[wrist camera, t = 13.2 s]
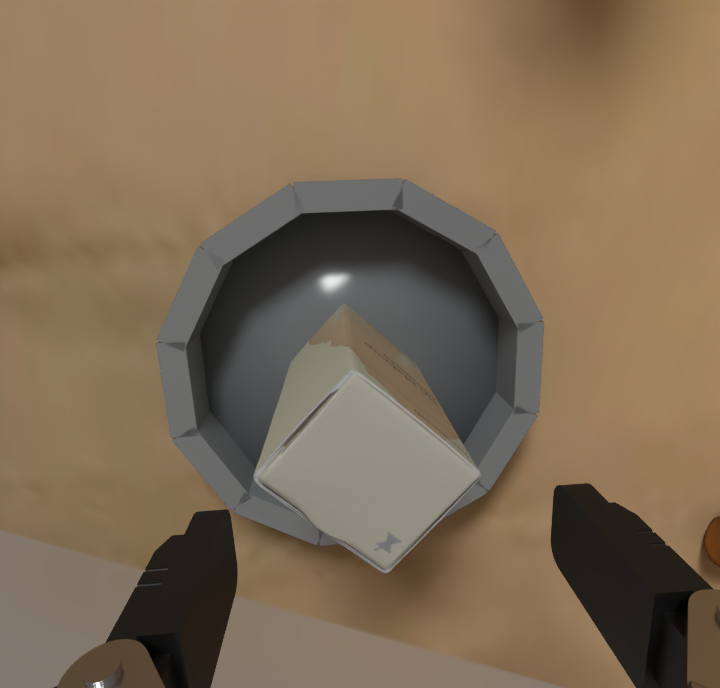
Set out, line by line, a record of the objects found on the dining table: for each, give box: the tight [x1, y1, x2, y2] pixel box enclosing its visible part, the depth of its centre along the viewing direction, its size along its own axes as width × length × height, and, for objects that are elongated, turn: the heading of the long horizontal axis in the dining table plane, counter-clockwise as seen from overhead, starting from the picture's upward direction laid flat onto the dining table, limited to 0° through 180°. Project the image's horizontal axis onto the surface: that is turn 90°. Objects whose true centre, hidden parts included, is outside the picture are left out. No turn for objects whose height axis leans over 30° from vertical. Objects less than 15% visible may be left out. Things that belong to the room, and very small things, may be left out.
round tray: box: [156, 178, 544, 546], centre depth 23 cm, size 17×17×3 cm
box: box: [253, 304, 481, 573], centre depth 18 cm, size 5×4×11 cm
